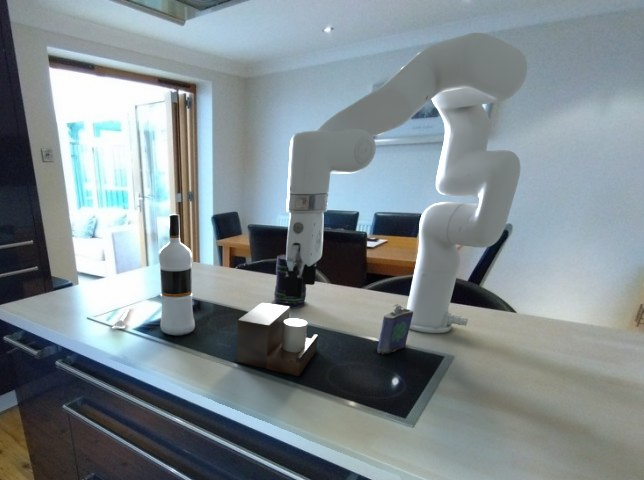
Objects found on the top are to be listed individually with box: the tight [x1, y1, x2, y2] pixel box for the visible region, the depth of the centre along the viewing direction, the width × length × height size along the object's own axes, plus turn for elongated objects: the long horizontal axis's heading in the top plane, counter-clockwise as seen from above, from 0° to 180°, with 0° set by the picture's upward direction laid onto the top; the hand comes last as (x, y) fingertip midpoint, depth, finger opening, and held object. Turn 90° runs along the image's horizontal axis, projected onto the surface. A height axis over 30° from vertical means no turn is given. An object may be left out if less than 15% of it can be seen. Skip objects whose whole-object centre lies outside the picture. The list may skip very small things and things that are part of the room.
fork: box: [110, 306, 132, 329], centre depth 112 cm, size 3×20×2 cm, turn 177°
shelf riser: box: [236, 302, 319, 377], centre depth 87 cm, size 14×14×10 cm
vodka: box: [158, 213, 196, 337], centre depth 99 cm, size 9×9×30 cm
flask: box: [376, 303, 413, 355], centre depth 90 cm, size 9×3×11 cm, turn 121°
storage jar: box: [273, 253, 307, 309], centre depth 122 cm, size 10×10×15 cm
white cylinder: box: [282, 317, 308, 352], centre depth 85 cm, size 5×5×6 cm
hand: (300, 289), depth 81 cm, fingers open, 9 cm apart
